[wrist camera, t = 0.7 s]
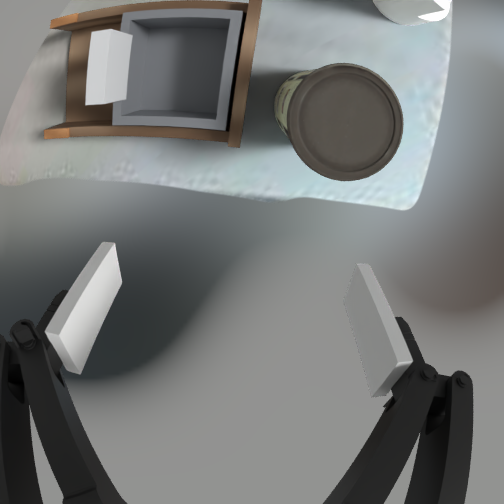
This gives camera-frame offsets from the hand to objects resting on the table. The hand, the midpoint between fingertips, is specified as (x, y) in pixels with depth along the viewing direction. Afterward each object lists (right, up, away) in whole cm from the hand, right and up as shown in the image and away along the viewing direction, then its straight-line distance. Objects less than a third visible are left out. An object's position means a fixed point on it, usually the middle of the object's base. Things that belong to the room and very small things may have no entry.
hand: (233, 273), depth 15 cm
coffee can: (+9, +19, +18) cm, 28 cm away
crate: (-7, +23, +13) cm, 27 cm away
